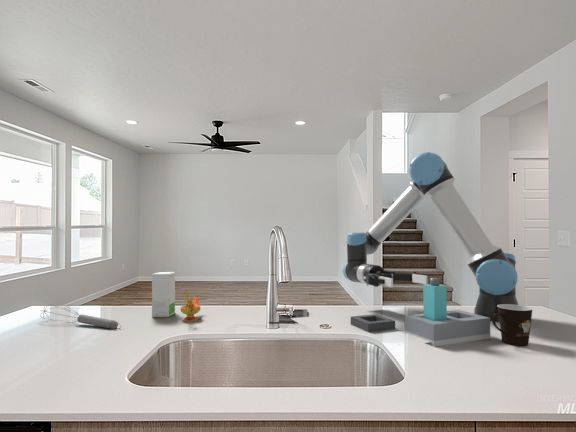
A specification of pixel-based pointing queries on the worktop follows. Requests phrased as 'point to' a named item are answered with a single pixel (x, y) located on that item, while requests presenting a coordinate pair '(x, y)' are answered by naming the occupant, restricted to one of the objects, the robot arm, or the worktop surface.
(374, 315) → the frame
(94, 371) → the worktop surface
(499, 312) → the coffee mug
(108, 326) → the kitchen whisk
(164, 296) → the skincare box
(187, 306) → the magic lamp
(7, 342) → the worktop surface
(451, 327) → the block
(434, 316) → the plug
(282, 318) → the handgun
